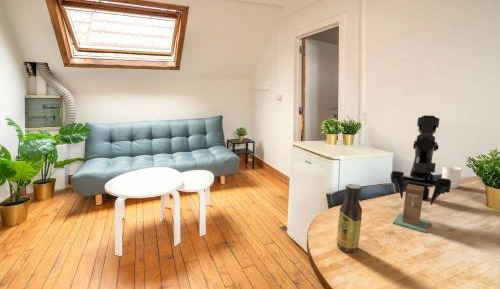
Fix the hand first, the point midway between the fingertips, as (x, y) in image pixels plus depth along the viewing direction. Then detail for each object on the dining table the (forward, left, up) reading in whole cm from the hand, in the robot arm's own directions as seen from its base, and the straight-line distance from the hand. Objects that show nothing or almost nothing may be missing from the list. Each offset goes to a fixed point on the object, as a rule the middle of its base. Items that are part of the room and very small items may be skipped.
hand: (415, 201), depth 95 cm
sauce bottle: (-11, -34, -8) cm, 36 cm away
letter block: (-1, -1, -7) cm, 8 cm away
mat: (0, -2, -8) cm, 8 cm away
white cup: (+6, +60, -8) cm, 61 cm away
